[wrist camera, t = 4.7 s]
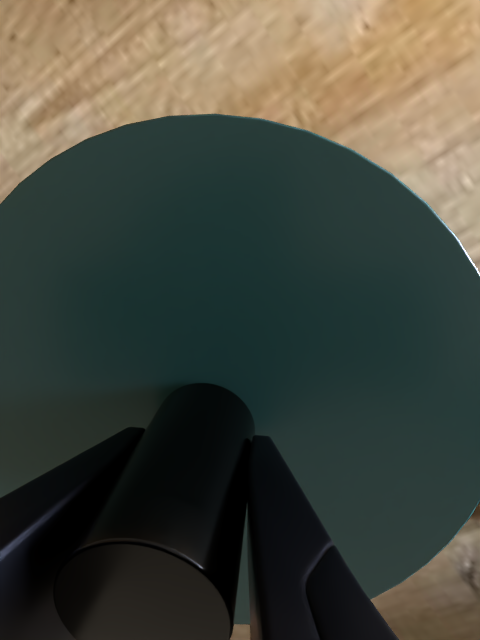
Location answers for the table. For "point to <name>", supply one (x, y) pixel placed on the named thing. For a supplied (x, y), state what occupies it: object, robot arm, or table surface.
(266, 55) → the table surface
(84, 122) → the table surface
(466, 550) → the table surface
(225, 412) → the pot lid
